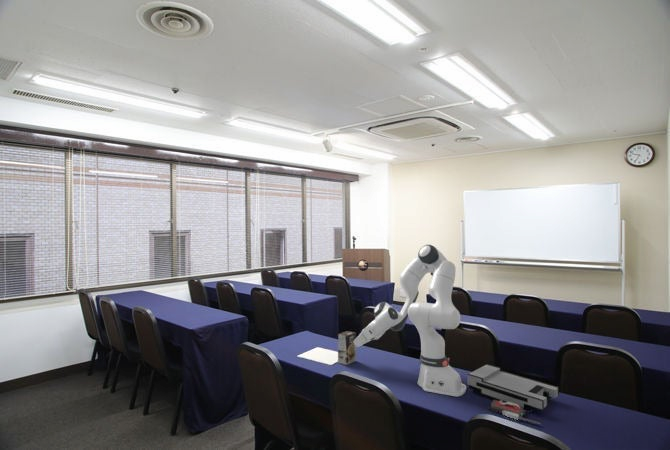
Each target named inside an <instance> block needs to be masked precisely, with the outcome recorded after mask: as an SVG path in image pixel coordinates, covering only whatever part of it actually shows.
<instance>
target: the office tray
mask: <svg viewBox="0 0 670 450" xmlns="http://www.w3.org/2000/svg"><path fill="white" fill-rule="evenodd" d="M466 375H467V376H466V377H467V379H466V382H467V383H466V384H467V386H468V389H469V390H472V393H473V394H475V395H478V396H481V397H483V398H487V399H489V400H492V401H493V400H497V401H501V400H502V402H505V403H506V402H512V403H516V404H518V405H519V406H520V407H523V410H526V411H529V412H530V411H531V410H532V411H535V412H537V411H539V410H544V409H545V408H546V407H547V405H548V402H549V401H550V400H551V399H552V398H554V399H556V398H557V397H558V396H559V395H560V386H558V385H553V384H551V383H546V382H543V381H540V380H537V379H532V378H529V377H526V376H522V375H519V374H515V373H512V372H508V371H505V370H502V367H500V366H497V365H493V364H489V363H487V364H485V365H483V366H481V367H479V368H477V369H475V370H474V371H471V372H470V373H468V374H466ZM526 411H525V412H526ZM532 411H531V412H532ZM529 412H528V413H529ZM531 412H530V413H531Z"/></svg>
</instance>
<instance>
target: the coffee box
mask: <svg viewBox="0 0 670 450" xmlns="http://www.w3.org/2000/svg"><path fill="white" fill-rule="evenodd" d="M356 338H357V332H356V331H355V332H354V331H350V330H349V331H348V330H346V331H343V332H341V333H338V340H337V342H338V343H337V352H338V362H337V363H338V364H340V365H341V364H342V365H345V366H348V365H350V364H351V363H355V362H356V359H357V354H356V352H357V347H356V346H355V344H354V343H353V342H354V340H355V339H356Z"/></svg>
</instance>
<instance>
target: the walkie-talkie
mask: <svg viewBox="0 0 670 450" xmlns="http://www.w3.org/2000/svg"><path fill="white" fill-rule="evenodd" d="M487 409H488V410H490V411H491V410H492V411H491V412H493V411H495V412H494V413H497V412H499V413H498V414H500V413H502V414H501V415H503V416H504V415H505V416H507V417H510V418H514V419H517V420H518V419H519V420H518V421H521V420H523V421H524V422H526V421H528V422H527V423H529V422H532V423H531V424H535V425H538V424H539V426H542V423H541V422H538V421H536V420H532V419H528V418H524V417H523V416H525V414H526V411H525V410H523V407H520V406H519V405H518V404H516V403H512V402H506V403H505V402H502V400H501V401H497V400H492V402H491V403H490V405H488V406H487ZM505 416H504V417H505ZM521 416H522V417H521ZM507 417H506V418H507Z"/></svg>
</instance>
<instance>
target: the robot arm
mask: <svg viewBox="0 0 670 450" xmlns="http://www.w3.org/2000/svg"><path fill="white" fill-rule="evenodd" d="M456 269H457V268H456V266H455V264H454V263H453V262H452V261H450V260H448V259H447V257H446V256H445V255H444V254H443V253H442V252H441V251H440V250H439V249H437V247H435V246H434V245H432V244H425V245H422V247H420V248H419V250H418V252H417V256H415V257H414V258H413V259H412V260H411V261H410V262H409V263H407V265H406V266H405V267H404V269H403V270H402V272H401V273H400V275H399V284H400V286H401V288H402V289H403V291H404V293H405V297H406V299H405V302H404V304H403V306H402V308H401V310H400V312H399V311H398V310H397V309H396V308H394V307H393V306H392V305H391V304H390V303H388V302H386V301H382V302H379V303H378V304H376V306H375V307H374V308H373V315H374V319H373V320H372V321H371V322H369V323H368V325H367V326H366V327H364V328H363V329H362V330H361V332H360V333H359V335H358V336H356V339H355V340H354V342H353V343H354V344H355V346H356V348H360V347H362V346H363V345H364V344H367V343H369V342H371V341H374V340H376V341H377V340H379V339H380V338H381V337H382V336H383V335H384V334H385V333H386V331H388V330H392V331H393V332H400V331H402V329H404V327H405V325H406V323H407V321H408V319H409V321H410V322H412V323H413V325H414V326H415V328H416V329H417V332H418V334H419V337H420V338H419V339H420V351H421V352H420V356H419V365H420V368H419V369H420V370H419V375H418V379H417V383H416V384H417V385H418V386H419V387H421V388H422V389H423V391H425V392H428V393H429V392H430V393H435V394H439V395H446V396H452V397H461V396H463V395H464V394H465V393H466V392H467V386H466V384H464V383H462V378H461V376H460V374H459V372H457V371H456V370H455V369H454V368H453V367H452V366H451V365H450V362H449V361H450V357H447V356H446V354H445V353H446V351H445V349H446V348H445V347H446V344H445V343H446V340H445V339H444V337H443V336H442V335H441V334H439V333H438V332H437V331H436V329H435V328H439V329H444V330H454V329H456V328H458V326H459V325H460V323H461V313H460V311H459V310H458V309H457V308H456V306H455V305H454V303H453V301H452V293H453V288H454V283H455V279H456ZM427 274H430V275H431V276H432V277H431V280H430V282H429V286H428V293H429V295H430V296H431V297H432V298H433V299H434V300H436V301H435V303H431V302H424V301H423V302H422V301H417V299H418V297H419V290H418V289H419V285H420V282H421V281H422V280H423V279H424V277H425V275H427ZM416 301H417V302H416Z"/></svg>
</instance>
